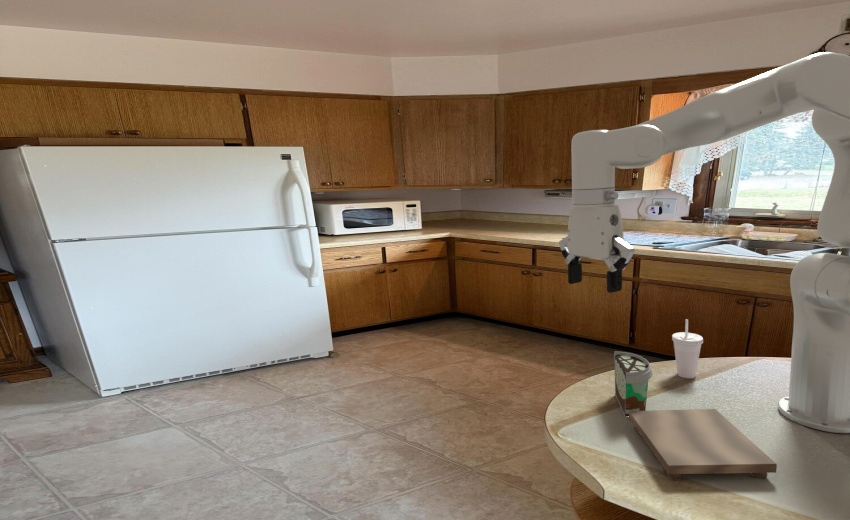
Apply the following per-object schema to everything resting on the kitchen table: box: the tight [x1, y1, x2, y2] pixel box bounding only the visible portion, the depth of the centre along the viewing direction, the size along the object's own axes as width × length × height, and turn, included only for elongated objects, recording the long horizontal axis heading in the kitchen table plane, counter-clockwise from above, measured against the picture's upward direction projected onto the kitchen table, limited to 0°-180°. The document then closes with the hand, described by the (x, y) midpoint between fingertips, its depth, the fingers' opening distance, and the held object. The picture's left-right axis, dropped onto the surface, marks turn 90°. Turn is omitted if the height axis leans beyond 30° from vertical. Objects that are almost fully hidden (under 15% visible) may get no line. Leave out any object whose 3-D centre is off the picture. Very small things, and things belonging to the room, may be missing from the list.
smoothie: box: [671, 318, 704, 379], centre depth 105 cm, size 6×6×14 cm
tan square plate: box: [628, 408, 778, 481], centre depth 78 cm, size 16×17×3 cm
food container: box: [613, 351, 653, 417], centre depth 94 cm, size 12×6×10 cm, turn 168°
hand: (593, 286), depth 87 cm, fingers open, 9 cm apart
